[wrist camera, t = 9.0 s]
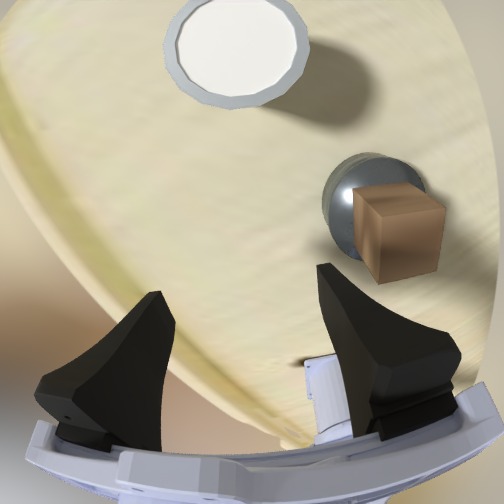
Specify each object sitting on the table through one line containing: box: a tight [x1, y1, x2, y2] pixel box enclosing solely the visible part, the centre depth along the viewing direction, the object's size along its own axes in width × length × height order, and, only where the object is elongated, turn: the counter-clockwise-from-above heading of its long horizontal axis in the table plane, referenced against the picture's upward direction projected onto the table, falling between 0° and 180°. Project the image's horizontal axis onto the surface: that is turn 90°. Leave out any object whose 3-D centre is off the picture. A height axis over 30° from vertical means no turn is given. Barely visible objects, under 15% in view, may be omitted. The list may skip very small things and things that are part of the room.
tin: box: [322, 152, 426, 261], centre depth 20 cm, size 8×8×3 cm
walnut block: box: [352, 182, 446, 285], centre depth 17 cm, size 4×4×5 cm
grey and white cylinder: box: [163, 0, 310, 110], centre depth 13 cm, size 7×7×7 cm
